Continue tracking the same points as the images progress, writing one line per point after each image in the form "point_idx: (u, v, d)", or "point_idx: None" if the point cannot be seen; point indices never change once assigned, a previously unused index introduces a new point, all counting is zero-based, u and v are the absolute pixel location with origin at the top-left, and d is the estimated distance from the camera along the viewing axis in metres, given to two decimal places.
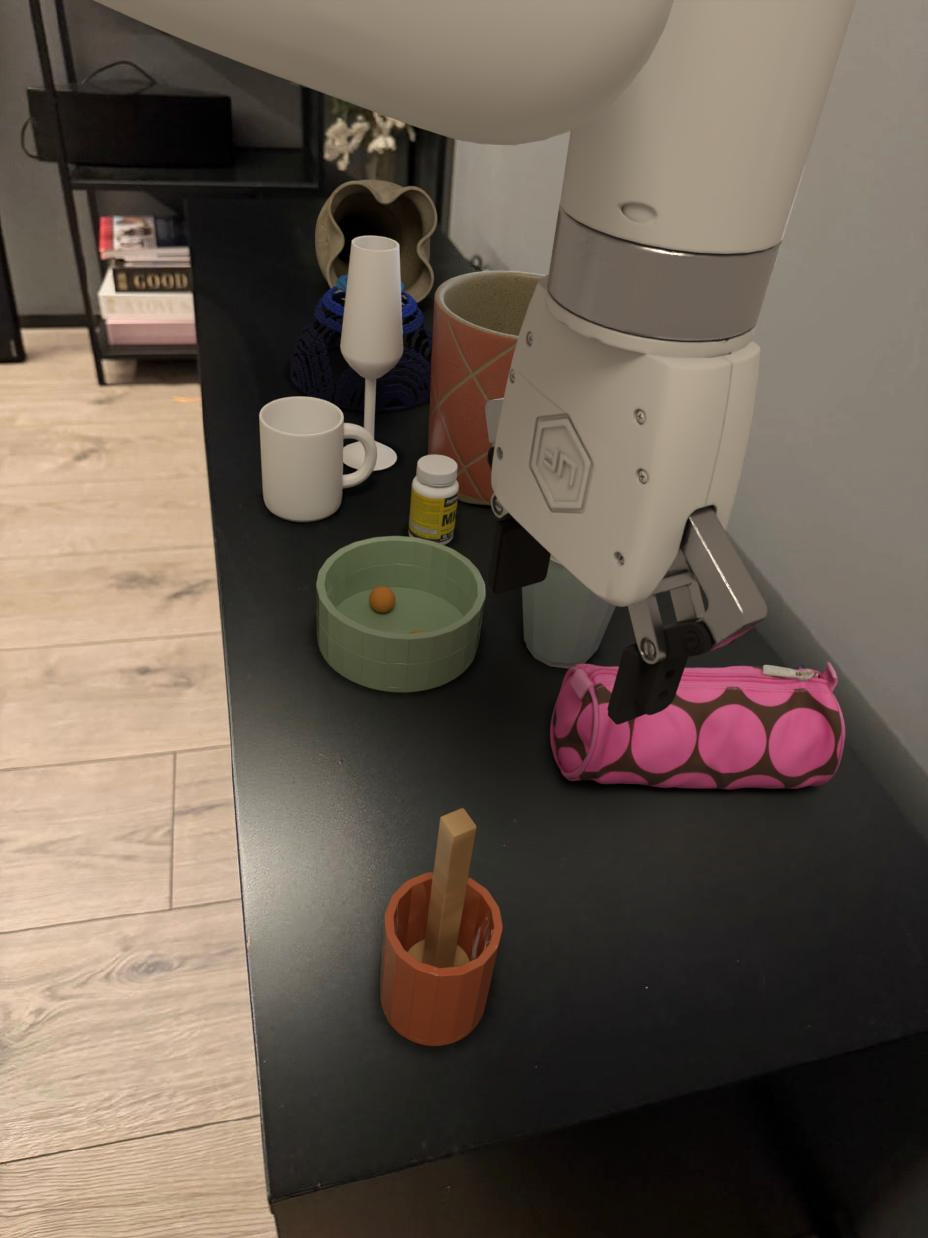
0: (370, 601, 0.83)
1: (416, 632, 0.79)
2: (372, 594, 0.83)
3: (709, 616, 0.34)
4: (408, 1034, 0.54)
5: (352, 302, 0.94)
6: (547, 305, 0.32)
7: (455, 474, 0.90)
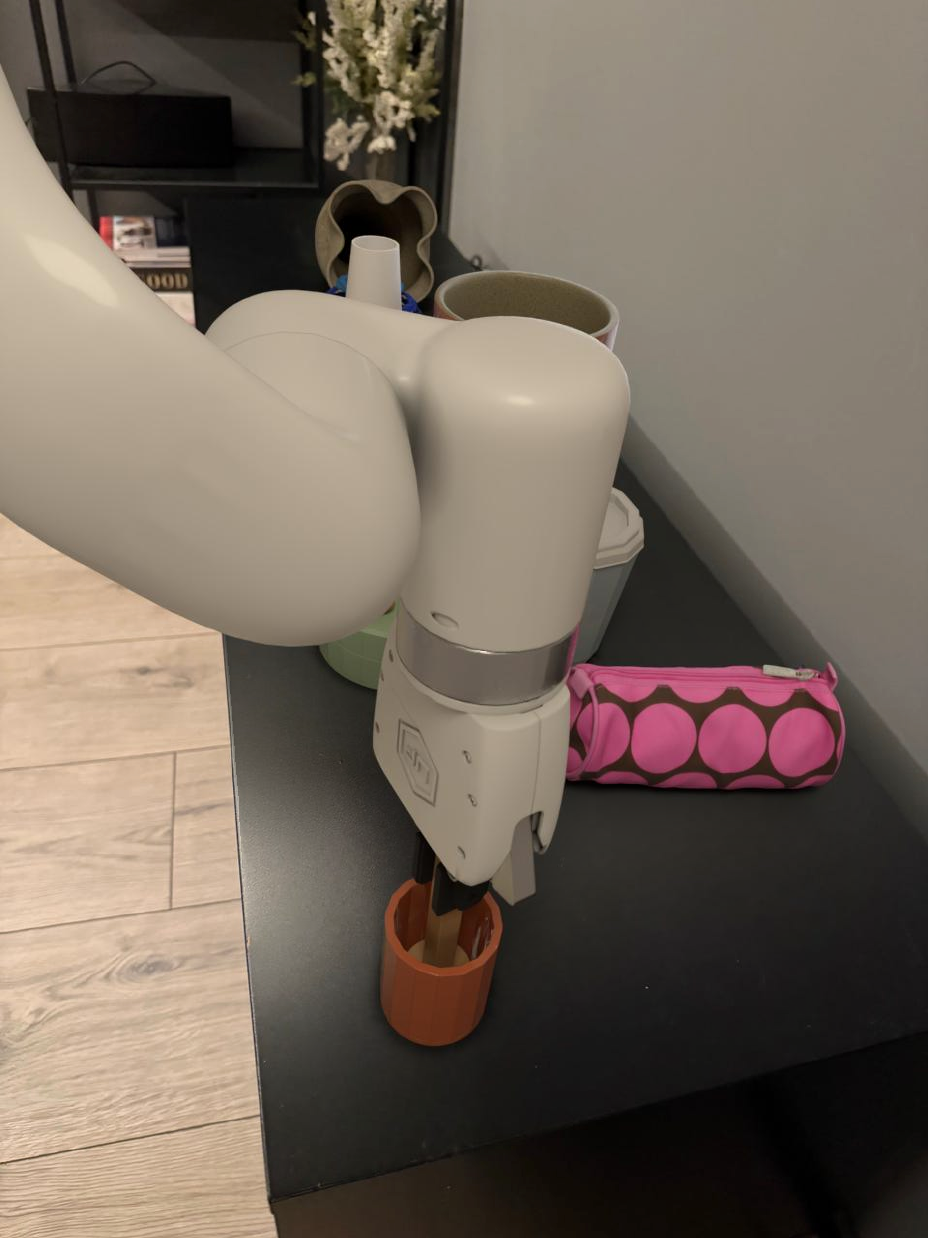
0: None
1: None
2: None
3: (495, 874, 0.43)
4: (408, 1034, 0.54)
5: None
6: (395, 652, 0.39)
7: None
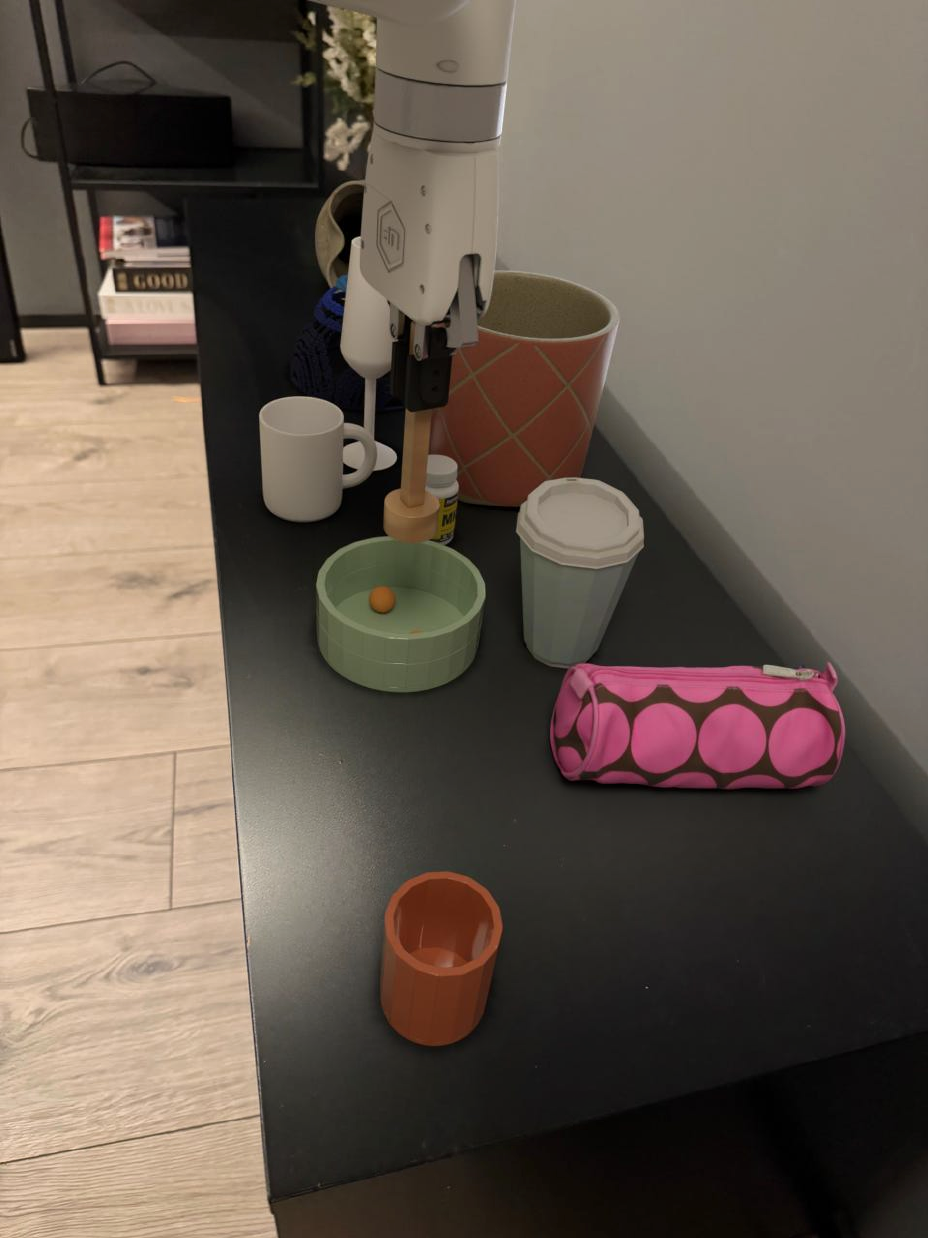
0: (370, 601, 0.83)
1: (416, 632, 0.79)
2: (372, 594, 0.83)
3: (448, 330, 0.58)
4: (408, 1034, 0.54)
5: (352, 302, 0.94)
6: None
7: (455, 474, 0.90)
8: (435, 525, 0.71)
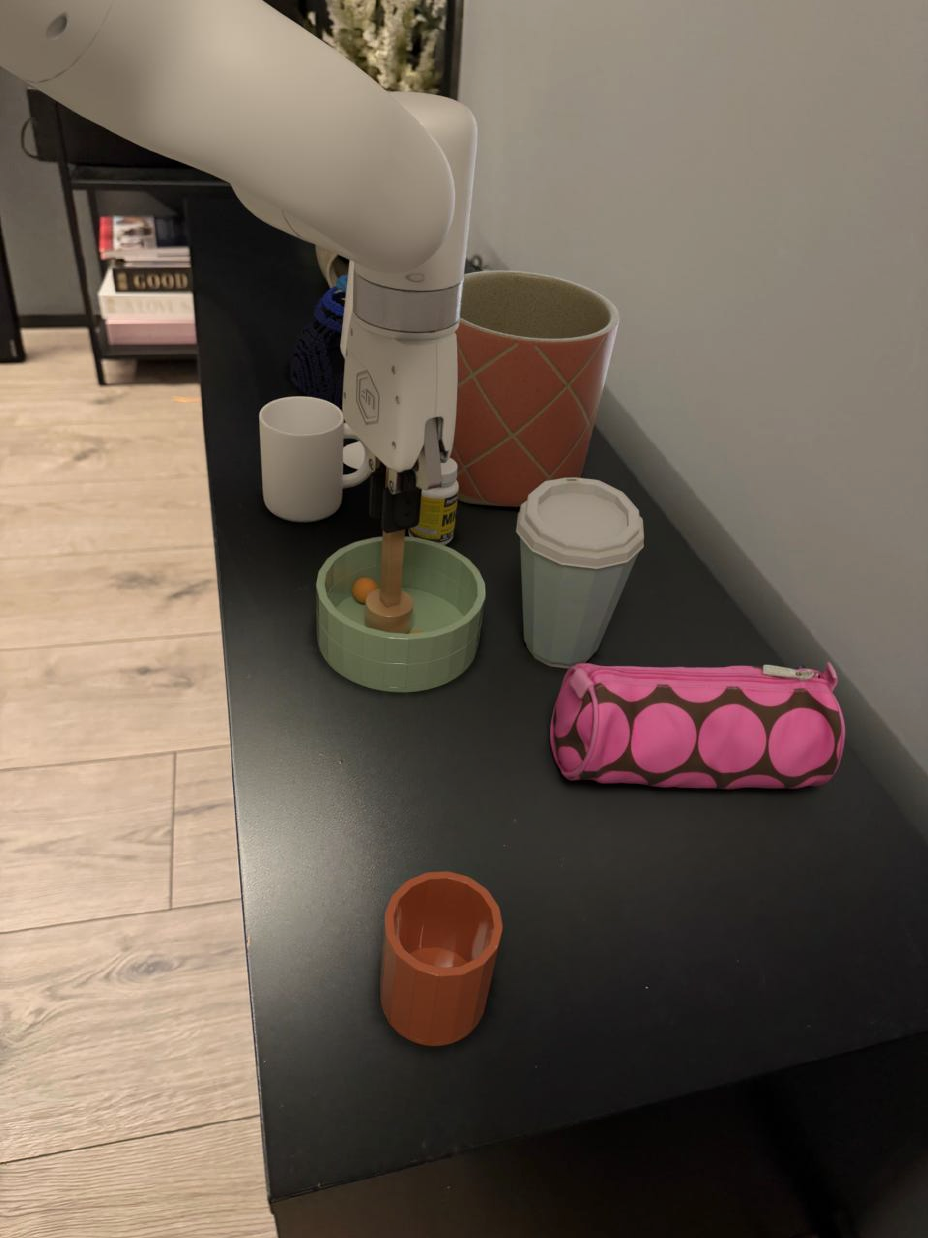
0: (356, 599, 0.84)
1: (416, 632, 0.79)
2: (354, 595, 0.85)
3: (417, 474, 0.68)
4: (408, 1034, 0.54)
5: (352, 302, 0.94)
6: (352, 314, 0.64)
7: (455, 474, 0.90)
8: (410, 621, 0.81)
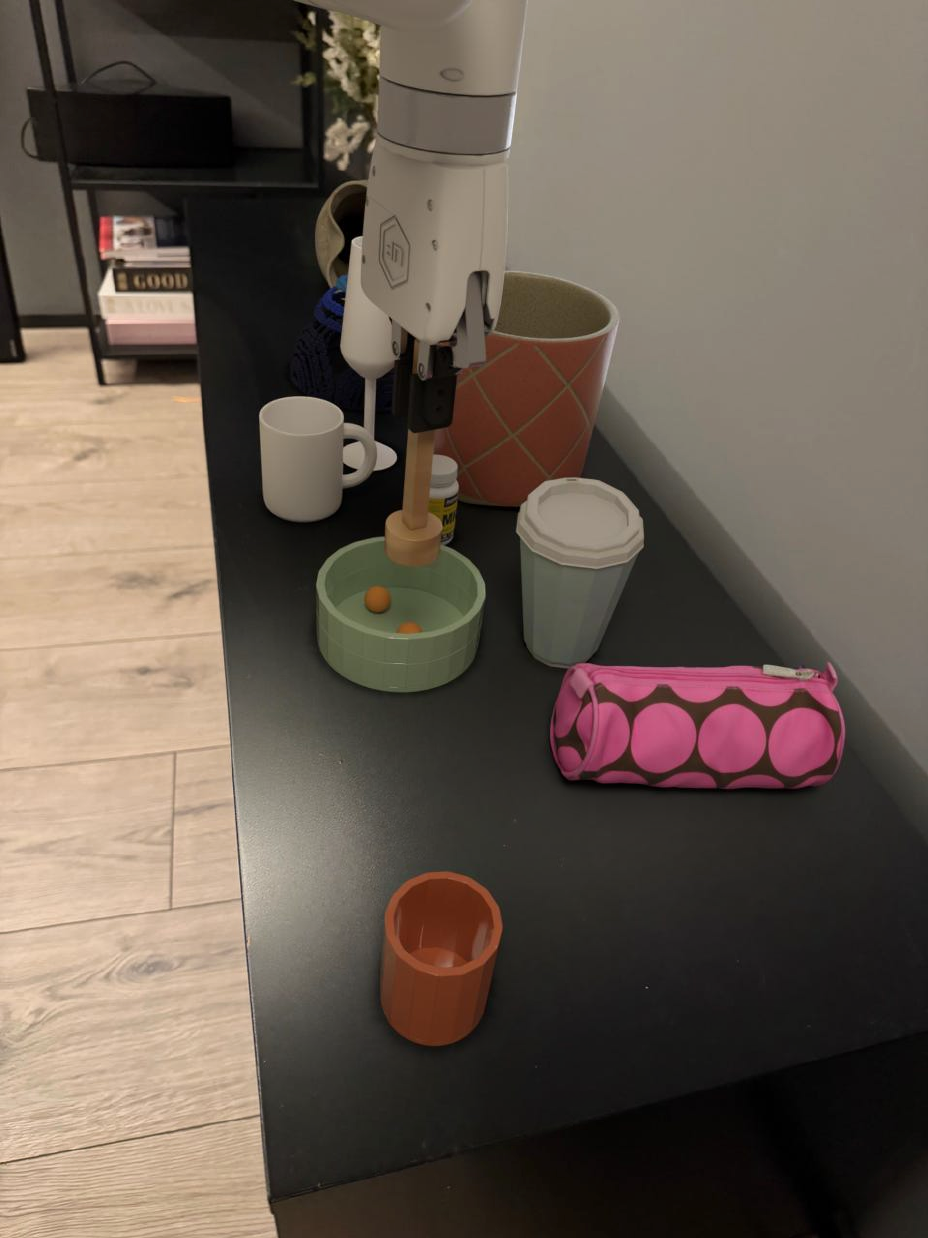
0: (365, 602, 0.83)
1: None
2: (365, 595, 0.83)
3: (455, 350, 0.55)
4: (408, 1034, 0.54)
5: (352, 302, 0.94)
6: (377, 140, 0.51)
7: (455, 474, 0.90)
8: (438, 548, 0.68)
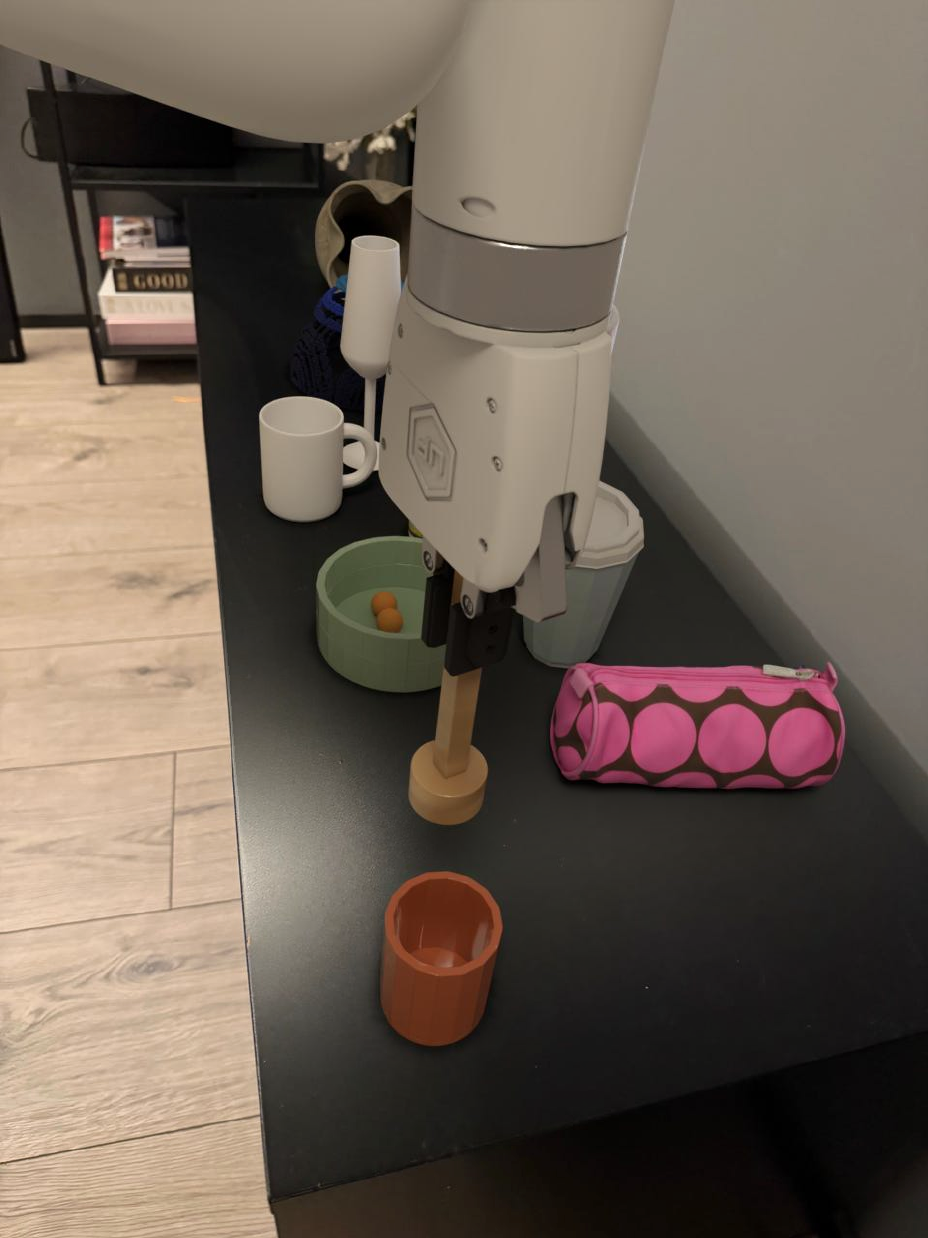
0: (371, 604, 0.83)
1: None
2: (375, 600, 0.82)
3: (519, 591, 0.37)
4: (408, 1034, 0.54)
5: (352, 302, 0.94)
6: (407, 297, 0.33)
7: None
8: (482, 797, 0.50)
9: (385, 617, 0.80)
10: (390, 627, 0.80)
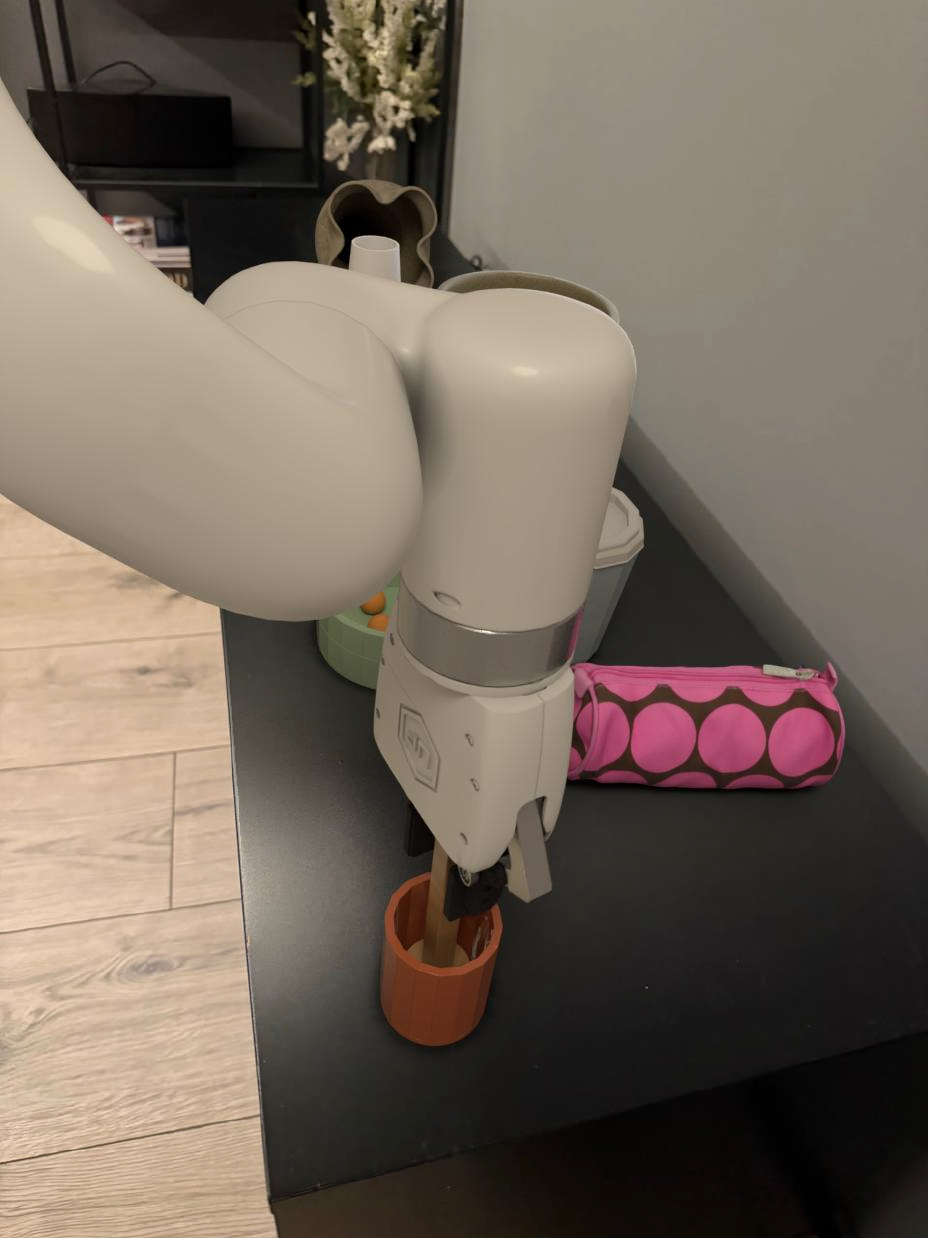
0: None
1: None
2: None
3: (509, 874, 0.41)
4: (408, 1034, 0.54)
5: None
6: (396, 634, 0.38)
7: None
8: None
9: None
10: None
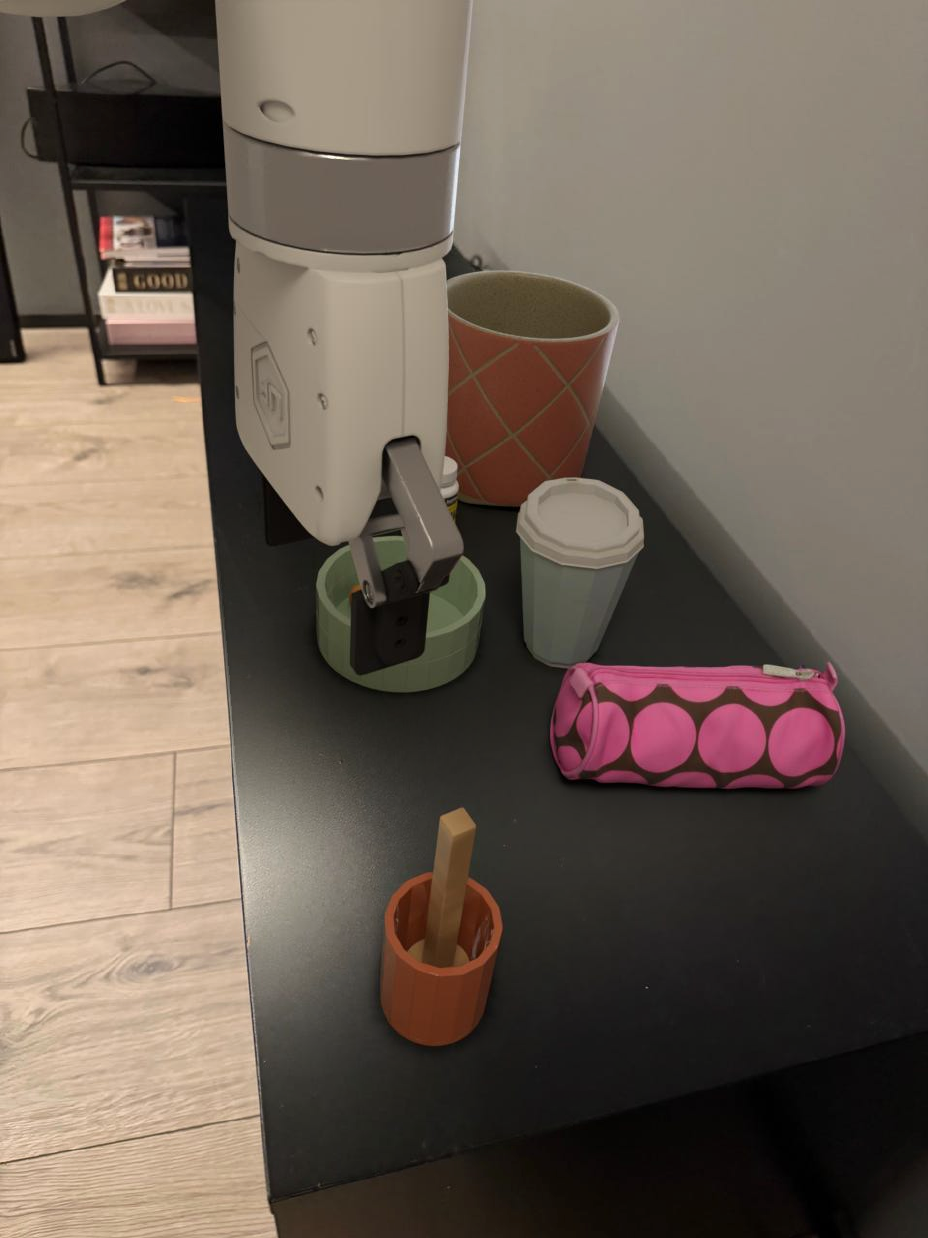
0: None
1: None
2: None
3: (411, 553, 0.32)
4: (408, 1034, 0.54)
5: None
6: None
7: (455, 474, 0.90)
8: None
9: None
10: None
